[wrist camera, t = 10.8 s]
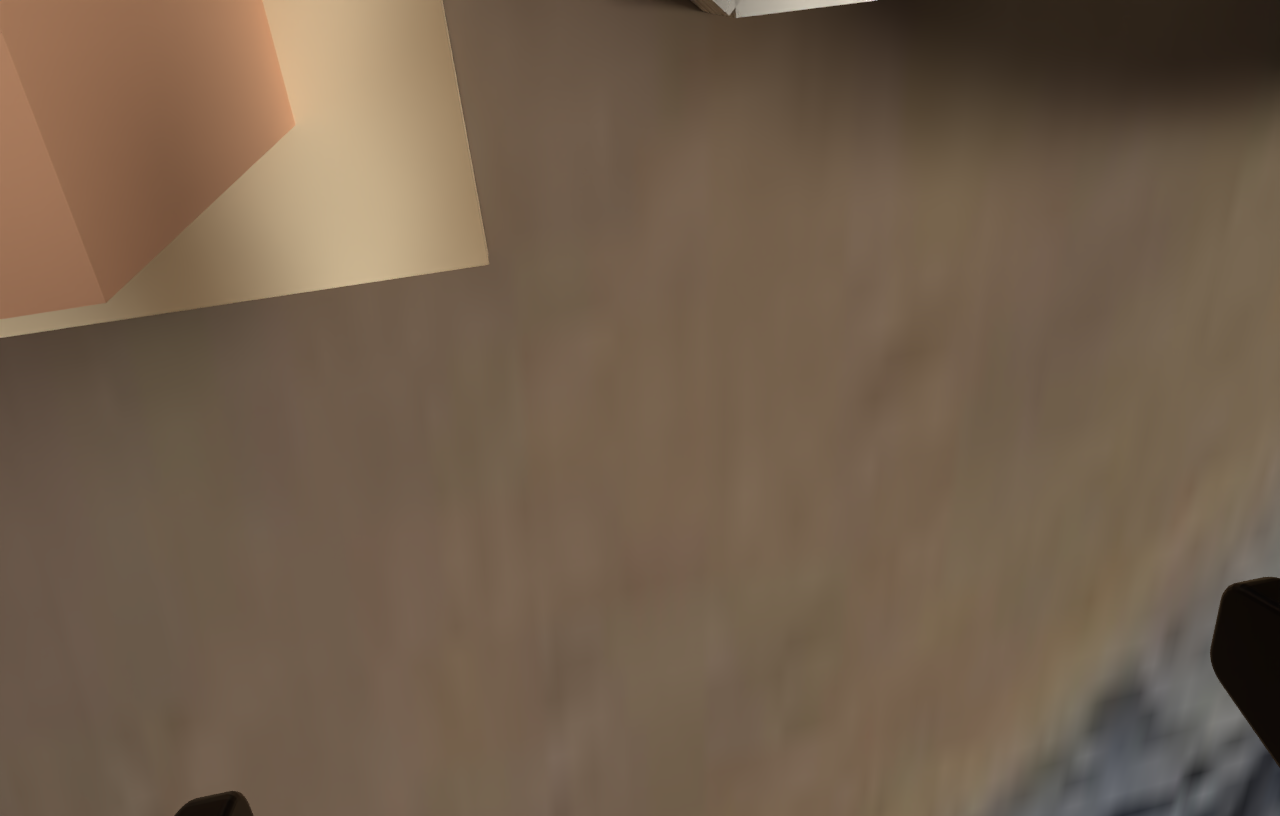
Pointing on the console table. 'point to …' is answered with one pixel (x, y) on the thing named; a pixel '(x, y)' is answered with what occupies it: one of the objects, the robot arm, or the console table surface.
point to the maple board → (328, 173)
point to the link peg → (122, 134)
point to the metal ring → (763, 6)
